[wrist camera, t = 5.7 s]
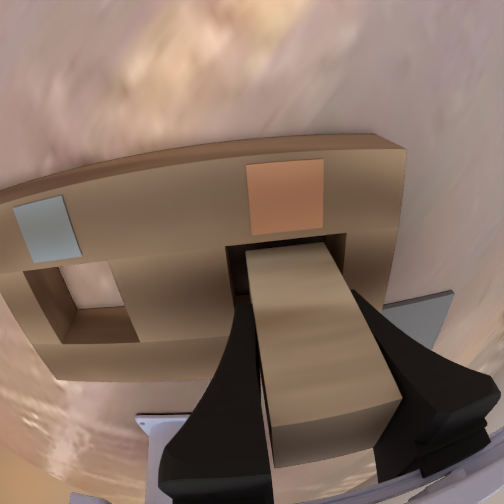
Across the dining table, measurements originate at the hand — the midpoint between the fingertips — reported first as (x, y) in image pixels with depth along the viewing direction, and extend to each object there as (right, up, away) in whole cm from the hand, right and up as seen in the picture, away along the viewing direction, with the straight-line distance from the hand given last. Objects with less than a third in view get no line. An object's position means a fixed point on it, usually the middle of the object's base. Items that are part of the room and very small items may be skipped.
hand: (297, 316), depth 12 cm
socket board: (-5, +2, +4) cm, 7 cm away
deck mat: (+10, -4, +9) cm, 14 cm away
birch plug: (0, +1, +2) cm, 3 cm away
